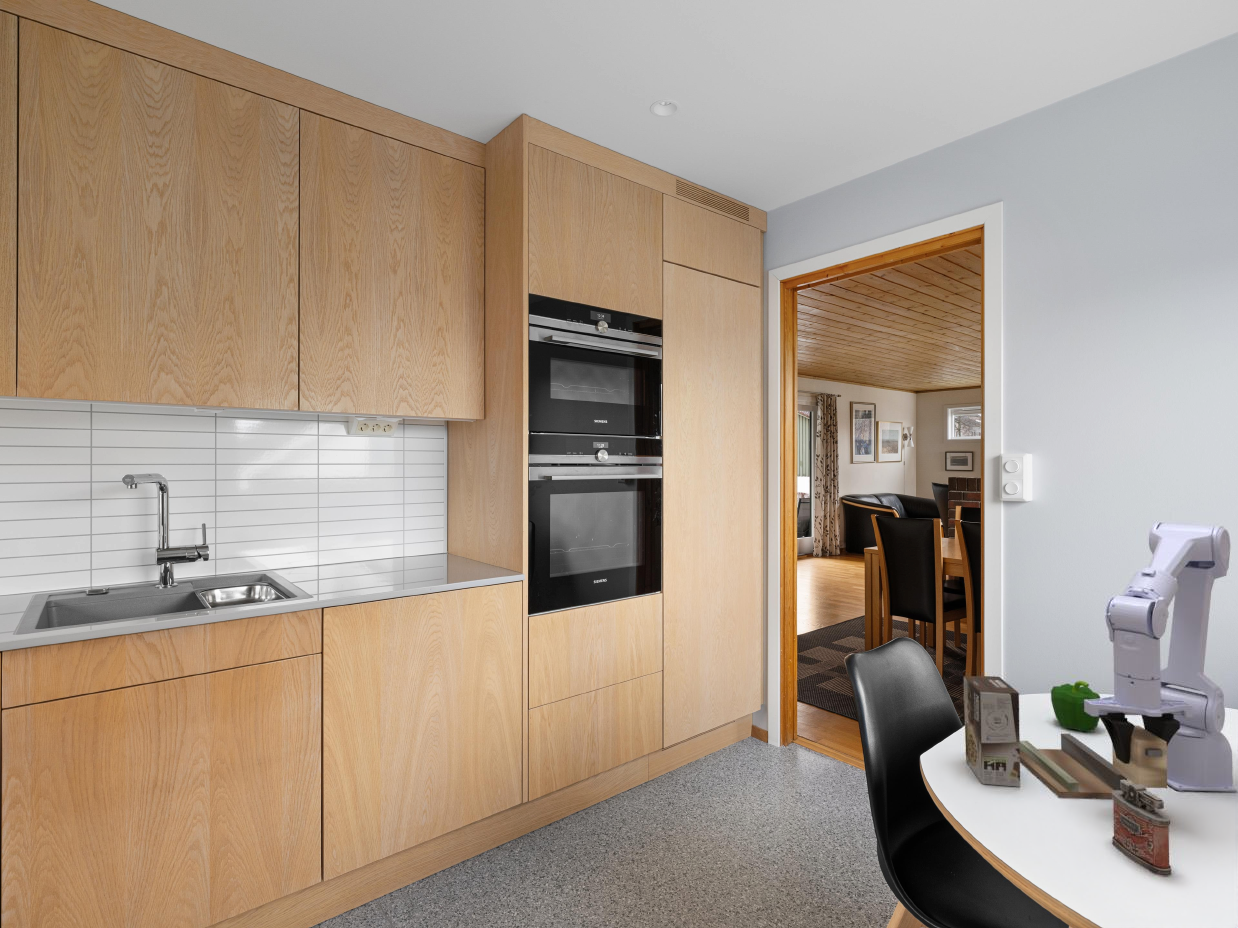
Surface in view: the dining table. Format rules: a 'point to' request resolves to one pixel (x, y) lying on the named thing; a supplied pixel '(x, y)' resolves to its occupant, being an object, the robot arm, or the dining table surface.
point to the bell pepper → (1074, 706)
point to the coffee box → (992, 730)
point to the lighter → (1141, 827)
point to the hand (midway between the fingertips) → (1138, 760)
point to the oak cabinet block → (1144, 760)
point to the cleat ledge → (1072, 769)
